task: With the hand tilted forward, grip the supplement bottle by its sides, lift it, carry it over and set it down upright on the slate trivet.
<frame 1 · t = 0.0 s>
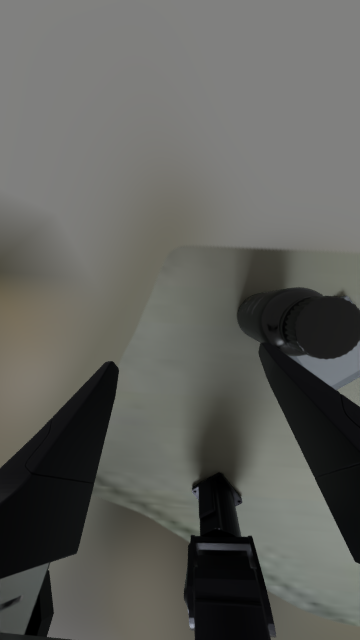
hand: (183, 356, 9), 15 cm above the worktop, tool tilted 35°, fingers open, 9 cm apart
slate trivet: (327, 348, 22), on the worktop
supplement bottle: (258, 315, 23), on the worktop
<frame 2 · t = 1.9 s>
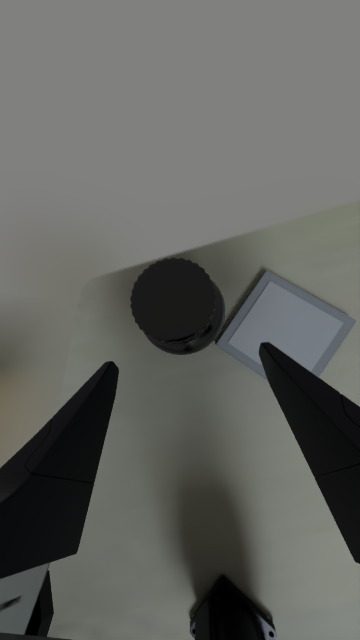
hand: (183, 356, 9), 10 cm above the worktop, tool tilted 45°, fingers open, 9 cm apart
slate trivet: (279, 333, 18), on the worktop
supplement bottle: (188, 321, 20), on the worktop
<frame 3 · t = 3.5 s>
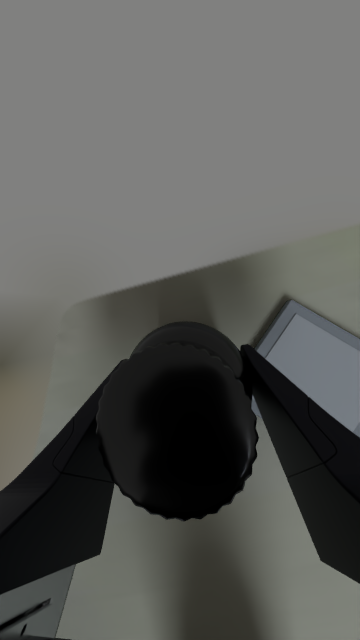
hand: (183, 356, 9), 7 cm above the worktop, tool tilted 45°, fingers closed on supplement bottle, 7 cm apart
slate trivet: (307, 379, 14), on the worktop
supplement bottle: (192, 359, 16), on the worktop, touching gripper
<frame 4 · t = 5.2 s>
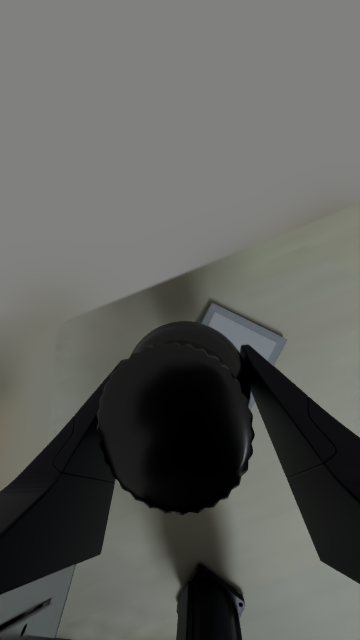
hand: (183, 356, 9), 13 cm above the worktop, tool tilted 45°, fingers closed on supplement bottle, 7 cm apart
slate trivet: (228, 354, 21), on the worktop
supplement bottle: (192, 358, 16), point 6 cm above the worktop, touching gripper
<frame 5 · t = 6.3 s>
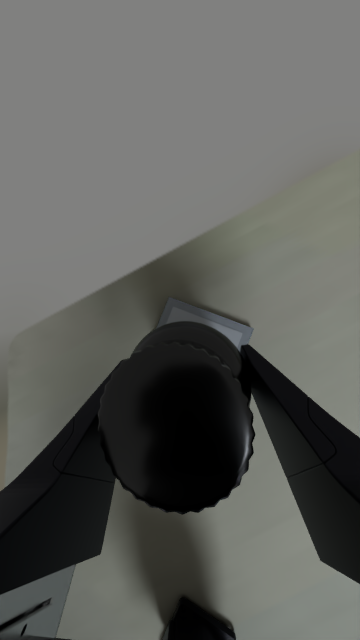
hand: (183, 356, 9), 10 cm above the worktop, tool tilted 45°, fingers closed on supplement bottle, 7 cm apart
slate trivet: (193, 352, 19), on the worktop
supplement bottle: (192, 358, 16), point 3 cm above the worktop, touching gripper
when the fingers open (9 cm above the worktop, at t = 7.2 s): supplement bottle stays where it is, resting on slate trivet.
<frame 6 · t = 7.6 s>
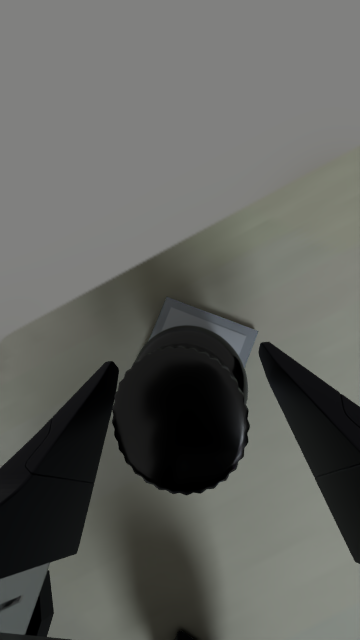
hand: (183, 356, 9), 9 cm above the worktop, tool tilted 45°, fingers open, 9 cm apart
slate trivet: (192, 357, 18), on the worktop
supplement bottle: (192, 359, 17), point 1 cm above the worktop, touching slate trivet
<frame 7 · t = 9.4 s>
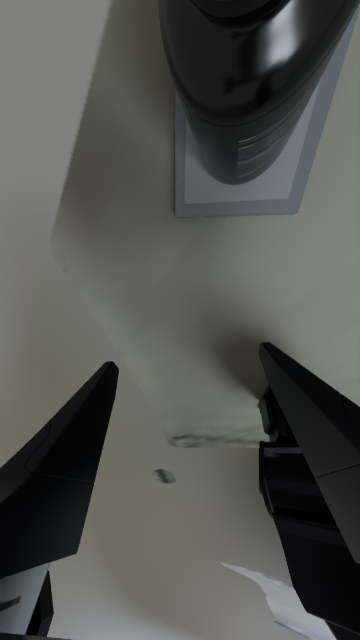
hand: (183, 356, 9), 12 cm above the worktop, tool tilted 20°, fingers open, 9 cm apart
slate trivet: (241, 135, 12), on the worktop
supplement bottle: (242, 132, 12), point 1 cm above the worktop, touching slate trivet
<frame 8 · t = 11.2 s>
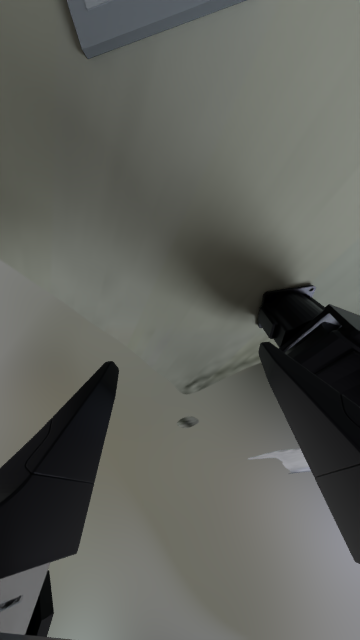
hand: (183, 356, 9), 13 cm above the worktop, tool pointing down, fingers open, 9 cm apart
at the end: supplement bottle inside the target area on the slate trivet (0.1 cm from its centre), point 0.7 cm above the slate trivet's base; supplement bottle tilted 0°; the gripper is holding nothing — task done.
